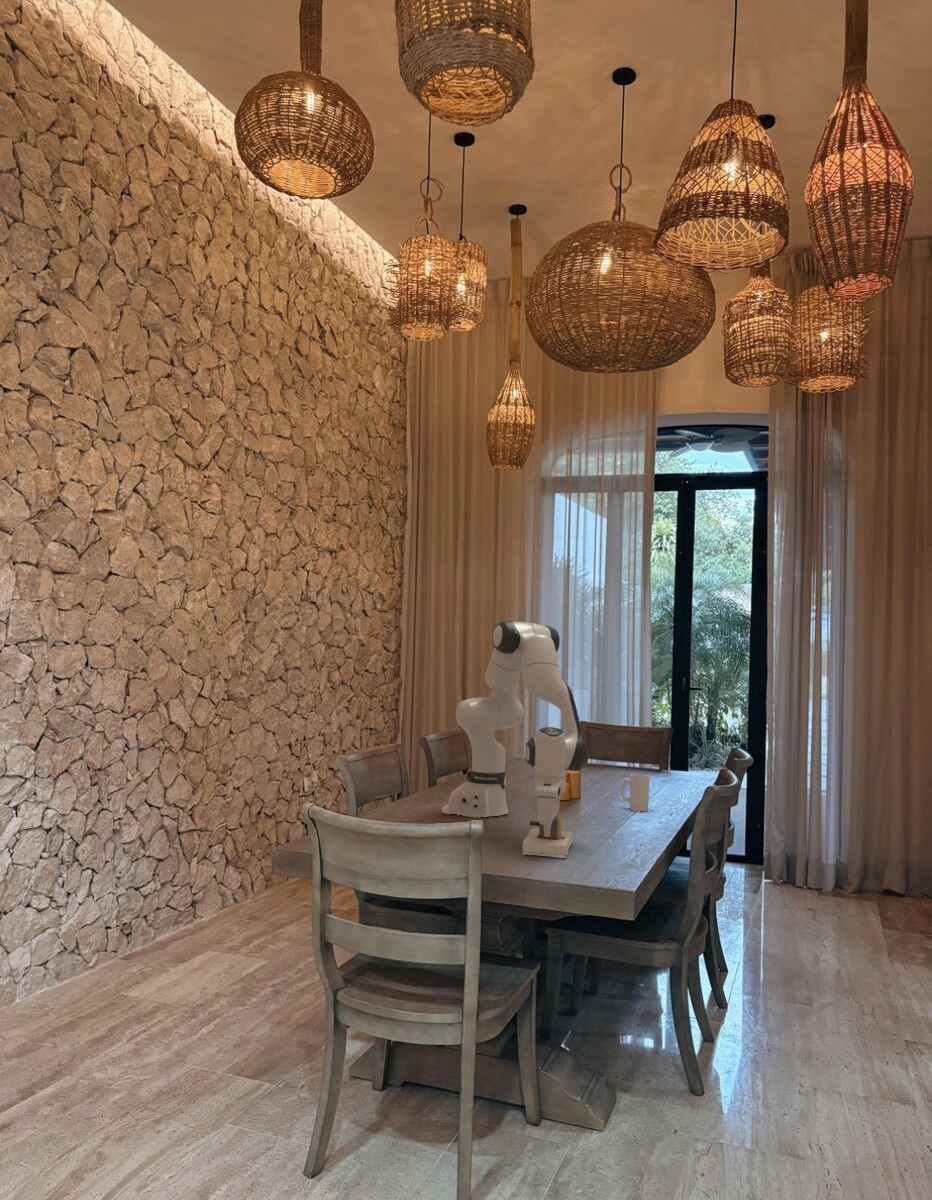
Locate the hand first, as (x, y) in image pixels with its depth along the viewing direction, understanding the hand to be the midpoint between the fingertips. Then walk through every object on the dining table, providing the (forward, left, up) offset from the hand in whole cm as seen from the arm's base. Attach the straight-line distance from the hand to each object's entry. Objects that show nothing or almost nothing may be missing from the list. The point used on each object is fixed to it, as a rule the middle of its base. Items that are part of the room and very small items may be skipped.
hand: (548, 834), depth 258 cm
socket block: (0, 0, -4) cm, 4 cm away
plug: (0, 0, -3) cm, 3 cm away
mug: (+22, +67, -4) cm, 71 cm away
